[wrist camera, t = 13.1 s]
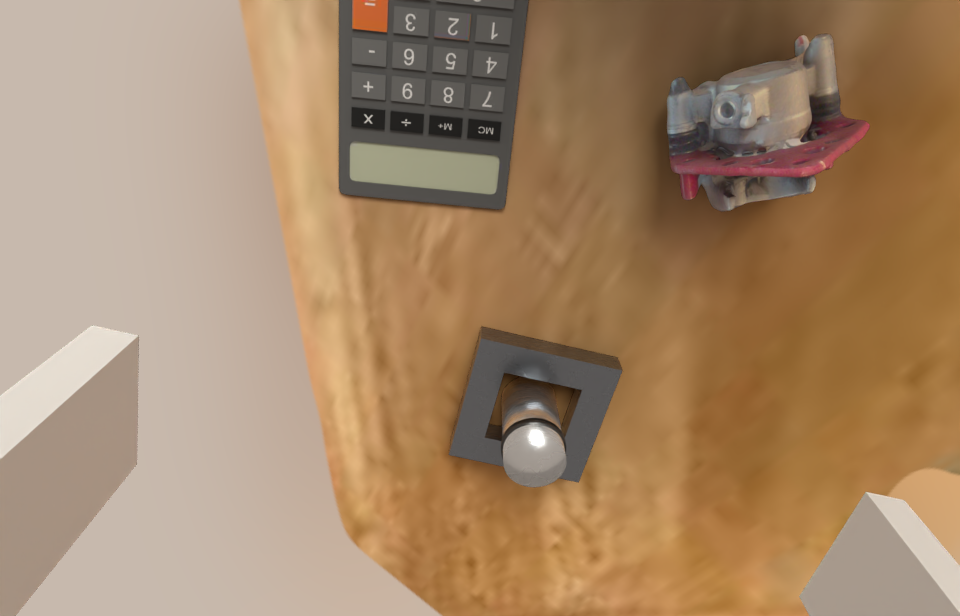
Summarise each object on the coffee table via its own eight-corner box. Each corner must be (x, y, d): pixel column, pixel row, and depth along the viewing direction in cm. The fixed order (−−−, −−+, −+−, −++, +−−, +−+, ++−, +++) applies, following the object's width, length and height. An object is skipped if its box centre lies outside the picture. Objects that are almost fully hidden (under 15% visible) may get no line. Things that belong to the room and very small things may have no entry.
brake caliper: (674, 257, 44) (706, 190, 32) (636, 116, 46) (652, 7, 35) (845, 219, 42) (943, 135, 31) (796, 76, 45) (869, -51, 33)
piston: (508, 368, 50) (511, 428, 43) (564, 381, 51) (577, 442, 44) (492, 416, 52) (493, 481, 45) (547, 428, 53) (557, 494, 45)
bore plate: (481, 326, 49) (481, 338, 47) (617, 357, 50) (622, 370, 48) (450, 440, 53) (448, 454, 52) (575, 466, 54) (578, 482, 52)
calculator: (531, -30, 38) (504, 210, 44) (531, -29, 39) (504, 207, 45) (338, -51, 38) (338, 194, 44) (341, -49, 39) (341, 191, 45)
